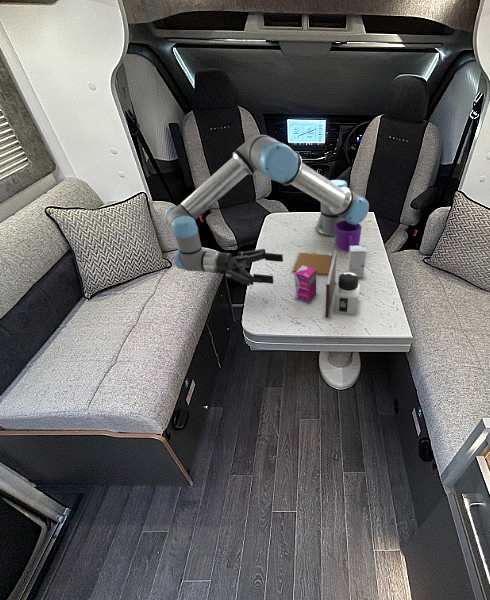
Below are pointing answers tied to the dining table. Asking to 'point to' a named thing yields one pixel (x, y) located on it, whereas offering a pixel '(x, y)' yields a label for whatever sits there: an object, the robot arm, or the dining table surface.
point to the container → (347, 293)
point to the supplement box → (305, 284)
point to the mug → (347, 235)
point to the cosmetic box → (357, 260)
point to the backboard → (330, 284)
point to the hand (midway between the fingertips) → (278, 268)
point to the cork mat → (314, 262)
